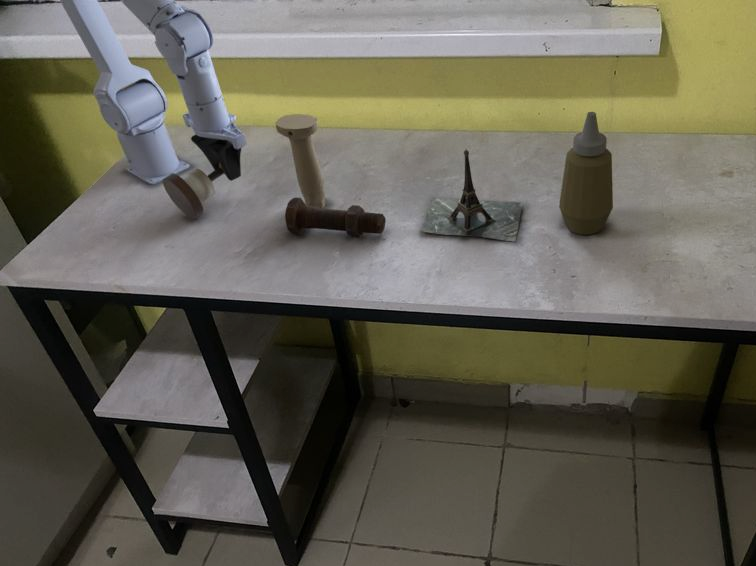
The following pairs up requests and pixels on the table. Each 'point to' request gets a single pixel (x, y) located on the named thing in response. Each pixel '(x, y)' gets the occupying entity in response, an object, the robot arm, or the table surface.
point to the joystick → (191, 190)
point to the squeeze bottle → (587, 181)
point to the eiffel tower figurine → (473, 214)
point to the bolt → (332, 219)
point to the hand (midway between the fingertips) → (229, 175)
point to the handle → (304, 156)
